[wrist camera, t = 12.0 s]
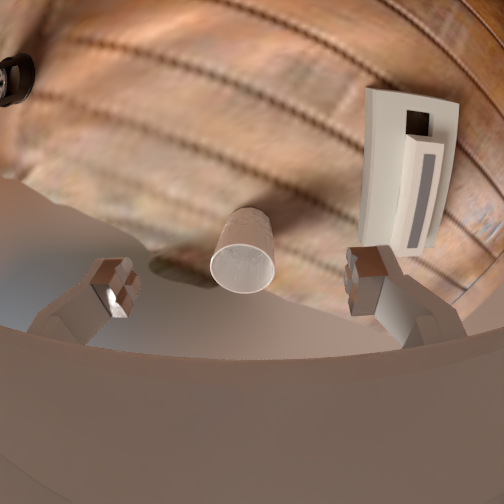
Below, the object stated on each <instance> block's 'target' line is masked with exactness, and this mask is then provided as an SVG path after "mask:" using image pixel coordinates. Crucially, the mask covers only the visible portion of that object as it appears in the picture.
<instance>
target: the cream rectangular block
mask: <svg viewBox="0 0 504 504" xmlns="http://www.w3.org/2000/svg"><path fill="white" fill-rule="evenodd" d="M443 152H444V144H443V143H442V142H440V141H438V140H437V139H435V138H433V137H428V136H419V135H410V134H406V137H405V150H404V160H403V169H402V178H401V185H400V192H399V199H398V206H397V212H396V217H395V223H394V228H393V233H392V238H391V243H390V244H391V246H392V248H393V250H394V252H395V254H396V256H397V257H407V256H421V255H422V252H423V248H424V245H425V241H426V237H427V234H428V230H429V226H430V222H431V217H432V213H433V209H434V204H435V199H436V194H437V189H438V184H439V178H440V172H441V166H442V159H443Z"/></svg>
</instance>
